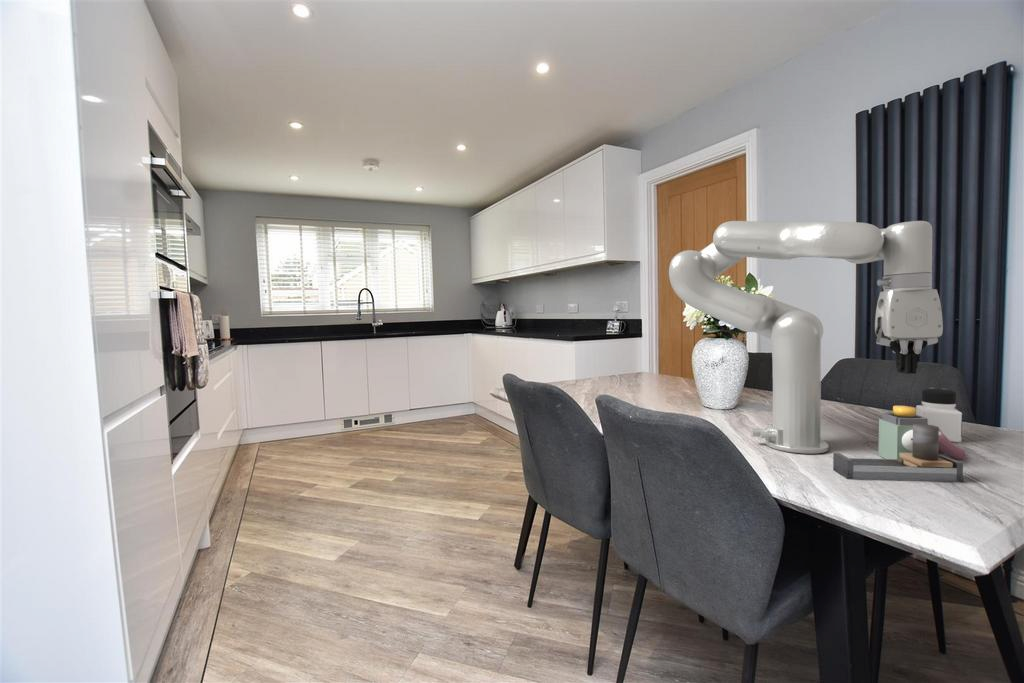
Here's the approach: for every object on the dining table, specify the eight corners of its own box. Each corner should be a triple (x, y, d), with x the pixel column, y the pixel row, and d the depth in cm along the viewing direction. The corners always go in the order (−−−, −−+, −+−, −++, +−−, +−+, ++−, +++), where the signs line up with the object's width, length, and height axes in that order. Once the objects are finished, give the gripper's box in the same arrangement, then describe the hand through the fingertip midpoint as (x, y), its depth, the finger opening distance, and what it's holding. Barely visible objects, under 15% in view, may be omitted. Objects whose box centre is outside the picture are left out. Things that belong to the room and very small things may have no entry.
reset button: (900, 416, 94) (900, 408, 94) (888, 412, 98) (889, 405, 98) (920, 416, 94) (920, 409, 93) (907, 413, 97) (908, 405, 97)
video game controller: (926, 453, 105) (909, 425, 106) (949, 446, 103) (932, 417, 104) (943, 466, 96) (925, 435, 97) (970, 459, 94) (950, 427, 95)
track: (847, 478, 87) (847, 460, 86) (833, 470, 91) (833, 452, 91) (962, 481, 84) (963, 462, 83) (941, 472, 88) (942, 454, 88)
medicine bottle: (962, 443, 107) (963, 391, 106) (921, 439, 111) (922, 390, 110) (953, 435, 113) (954, 387, 112) (915, 432, 117) (916, 385, 116)
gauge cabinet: (898, 465, 93) (899, 419, 93) (878, 455, 100) (879, 412, 99) (932, 466, 92) (933, 419, 92) (909, 456, 99) (910, 412, 98)
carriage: (921, 472, 84) (922, 430, 84) (899, 461, 90) (899, 422, 90) (952, 472, 83) (953, 430, 83) (928, 462, 89) (929, 422, 89)
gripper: (877, 284, 92) (877, 375, 93) (963, 280, 89) (962, 374, 90) (856, 286, 99) (855, 371, 100) (934, 283, 97) (933, 370, 98)
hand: (906, 372), depth 95 cm, fingers closed
